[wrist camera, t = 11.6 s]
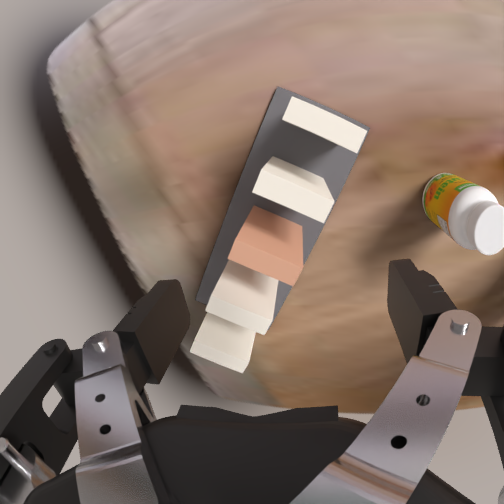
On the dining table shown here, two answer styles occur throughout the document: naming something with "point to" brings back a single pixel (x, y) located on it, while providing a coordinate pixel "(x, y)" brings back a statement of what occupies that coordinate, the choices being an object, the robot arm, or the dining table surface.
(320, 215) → the domino
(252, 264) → the domino
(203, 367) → the dining table surface
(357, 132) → the domino
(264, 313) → the domino
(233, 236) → the mat
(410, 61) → the dining table surface
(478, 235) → the supplement bottle
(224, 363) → the domino
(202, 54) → the dining table surface
